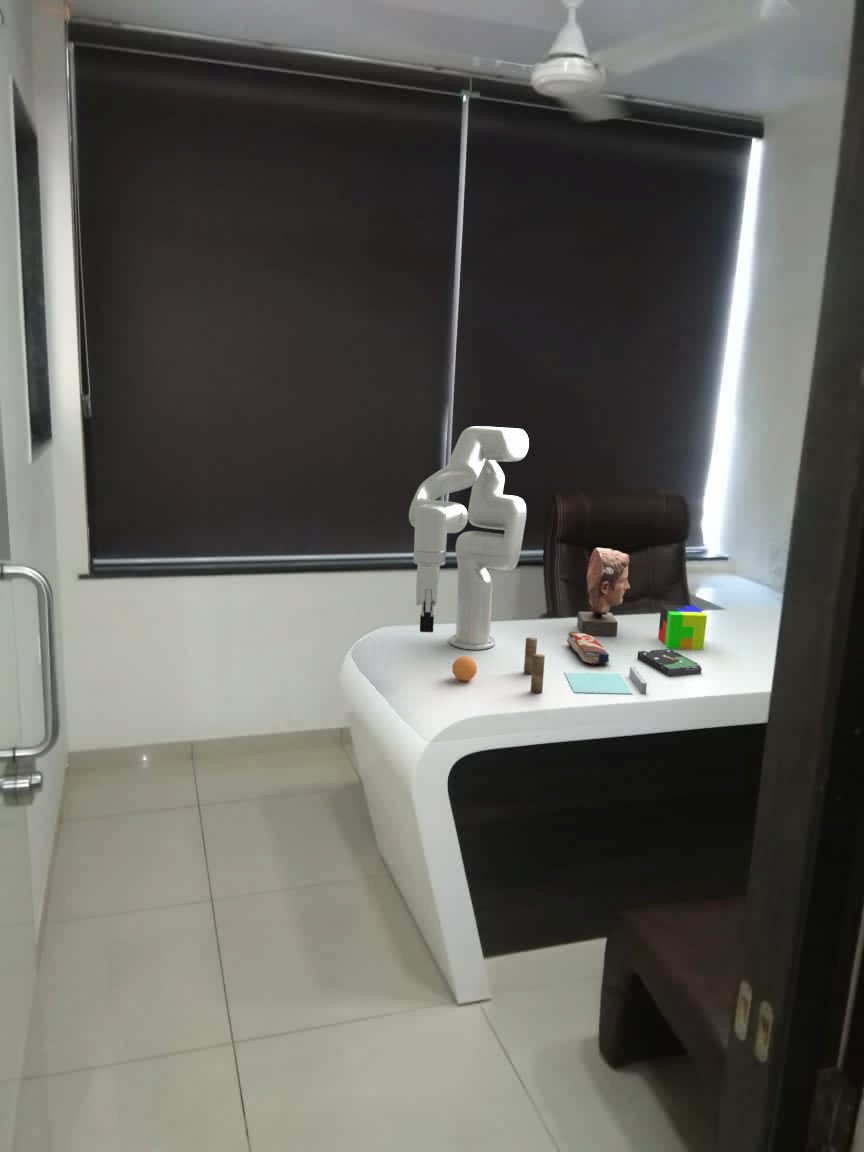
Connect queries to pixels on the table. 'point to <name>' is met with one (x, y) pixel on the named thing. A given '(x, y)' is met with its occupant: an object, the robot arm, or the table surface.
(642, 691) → the stopper strip
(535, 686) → the post
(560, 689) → the table surface
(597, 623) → the bust
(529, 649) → the post
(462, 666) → the ball
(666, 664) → the disk drive
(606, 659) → the pencil case
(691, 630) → the puzzle toy
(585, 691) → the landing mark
